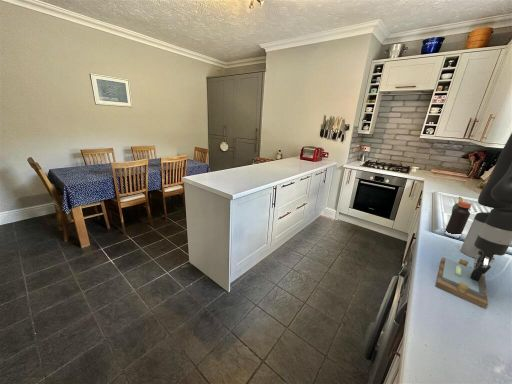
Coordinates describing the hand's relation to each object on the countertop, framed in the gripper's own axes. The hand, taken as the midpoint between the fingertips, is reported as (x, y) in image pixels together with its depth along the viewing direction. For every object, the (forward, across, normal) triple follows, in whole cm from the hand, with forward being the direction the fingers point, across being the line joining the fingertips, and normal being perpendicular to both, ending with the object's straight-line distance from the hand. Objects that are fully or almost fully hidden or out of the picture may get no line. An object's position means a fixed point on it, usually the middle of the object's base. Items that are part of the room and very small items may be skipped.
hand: (474, 278), depth 77 cm
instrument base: (+3, 0, +3) cm, 4 cm away
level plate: (+1, 0, +3) cm, 3 cm away
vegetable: (+3, +62, +9) cm, 63 cm away
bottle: (+3, +50, +7) cm, 50 cm away
